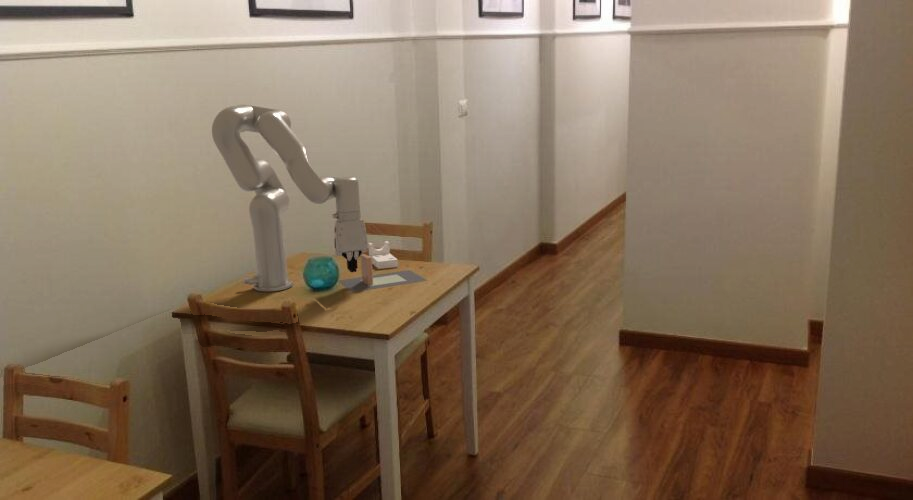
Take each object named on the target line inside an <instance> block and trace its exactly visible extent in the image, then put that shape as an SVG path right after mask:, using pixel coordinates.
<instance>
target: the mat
mask: <svg viewBox="0 0 913 500" xmlns="http://www.w3.org/2000/svg"><path fill="white" fill-rule="evenodd" d="M427 281H428V279H427V278H425V277H422V275H419V274H417V273H415V272H413V271H412V270H411V269H407V270H400V271H394V272H387V273H386V272H385V273H380V274H379V273H378V274H373V285H367V284H366V283H364V282H363V281H362V276H359V277H353V278H346V279H339V280H337V282H338V283H340V284H341V285H342V286H343V287H344V288H346V289H347V290H349V291H350V292H351V293H357V292H363V291H370V290H375V289H383V288H389V287H395V286H401V285H408V284H415V283H420V282H427Z"/></svg>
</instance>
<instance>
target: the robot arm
mask: <svg viewBox="0 0 913 500" xmlns="http://www.w3.org/2000/svg"><path fill="white" fill-rule="evenodd" d="M291 127H292V122H291V119H290V117H289V115H288V114H287V113H286V112H284V111H283V110H280V109H277V108H276V109H275V108H268V107H267V108H266V107H262V106H255V105H250V104H238V105H232V106H229V107H225V108H223V109H222V110H220V111H219V112H218V113H217V114H216V116H215V117H214V119H213V122H212V126H211V137H212V139H213V142H214V144H215V146H216V148H217V150H218V151H219V153H220V155H221V156H222V158H223V160H224V161H225V164H226V165H227V168H228V169H229V171H230V173H231V174H232V177H234V181H235V182H236V183H237V185H238V186H239V188H240V189H241V190H243V191H245V192H254V193H255V196H254V197H253V198H252V199H251V201H250V204H249V209H248V211H249V218H250V221H251V226H252V231H253V232H252V233H253V241H254V250H255V251H254V252H255V262H256V263H255V264H256V271H257V273H255V274H254V275H253V276H252V277H245V278H242V283H243V285H249V286H251V285H253V289H254V290H255V291H257V292H267V293H268V292H278V291H284V290H287V289H290V288H291V287H293V284H294V283H293V281H292V280H291V279H289V278H288V270H287V269H288V268H287V257H286V256H287V255H286V245H285V234H284V229H283V227H284V226H283V224H282V218H281V216H282V215H284V214H285V213H286V212H287V210H288V209H289V206H290V198H289V195H288V193H287V191H286V189H285V186H284V185H283V184H282V182H281V180H280V178H279V177H278V174H277V173H276V171H275V170H274V168H273V167H272V165H271V164H270V163H269V162H268V161H266V160H265V159H262V158H255V156H254V155H253V154H252V152H251V150H250V148H249V146H248V144H247V143H246V142H245V141H244V139H242V137H241V133H245V132H250V133H251V132H252V133H258V134H260V136H261V137H262V139H263V140H265V142H266V143H267V144H268V146H270V148H271V149H272V150H273V151H274V152H275V154H276V155H277V156H278V157H279V159H281V161H282V162H283V163H284V166H285V168H286V170H287V173H288V174H289V176H290V178H291V180H292V181H293V183H294V184H295V185H296V187H297V188H298V190H299V191H300V192H301V193H302V194H303V195H304V197H306V199H307V200H309V201H310V202H311V203H313V204H315V205H321V204H325V203H326V202H327V201H330V200H332V199H335V208H336V209H335V210H336V211H335V213H333V214H332V215H331V216H332V219H336V220H335V221H334V222H335V223H334V228H333V229H334V231H333V234H334V235H333V243H334V244H333V245H334V249H335V250H334V255H335V256H338V257H343V258H344V259H345V260H346V268H347V270H348V272H350V273H357V269H358V260H359V257H361V254H365V253H367V252H369V246H368V243H369V242H368V235H367V229H366V225H365V223H366V222H365V221H364V218H362V217H361V200H360V190H359V189H360V187H359V185H360V184H359V180H358V178H357V177H354V176H342V177H335V176H328V175H325V176H323V175H322V176H321V177H319V175H318V173H316V171H315V170H314V169H313V167H312V166H311V165H310V162H309V159H308V156H307V148H306V145H305V144H304V143H303V141H301V139H300V138H299V137H298V135H296V134H295V132H294V131H293V130H292V129H291Z"/></svg>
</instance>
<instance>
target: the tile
mask: <svg viewBox="0 0 913 500" xmlns="http://www.w3.org/2000/svg"><path fill="white" fill-rule="evenodd" d="M360 266H361V277H362V281H363V282H364V283H366V284H367V285H373V275H374V274H373V264H372V258H371V257H369V254H368V255H367V254H365V253H361V255H360Z"/></svg>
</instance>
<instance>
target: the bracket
mask: <svg viewBox="0 0 913 500" xmlns="http://www.w3.org/2000/svg"><path fill="white" fill-rule="evenodd" d="M390 251H391V250H390V242H389V241H388V240H386V241H384V244H383V246H382V247H380V248H375V247H374V245H373V243H372V242H368V256H369V257H371V258H372V266H374V267H376V269H378V270H381V269H391V268H398V267H399V262H398V258H397V257H395V256H394V255H393V254H391V253H390Z"/></svg>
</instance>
